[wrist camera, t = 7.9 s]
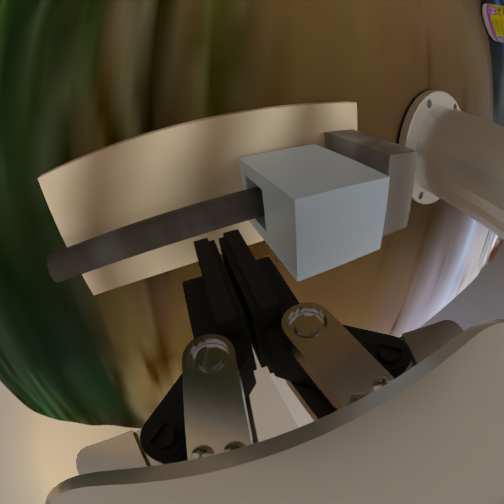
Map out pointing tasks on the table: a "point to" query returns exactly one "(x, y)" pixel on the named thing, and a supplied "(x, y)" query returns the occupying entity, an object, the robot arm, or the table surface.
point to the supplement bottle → (494, 21)
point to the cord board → (195, 188)
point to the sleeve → (316, 207)
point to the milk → (275, 405)
